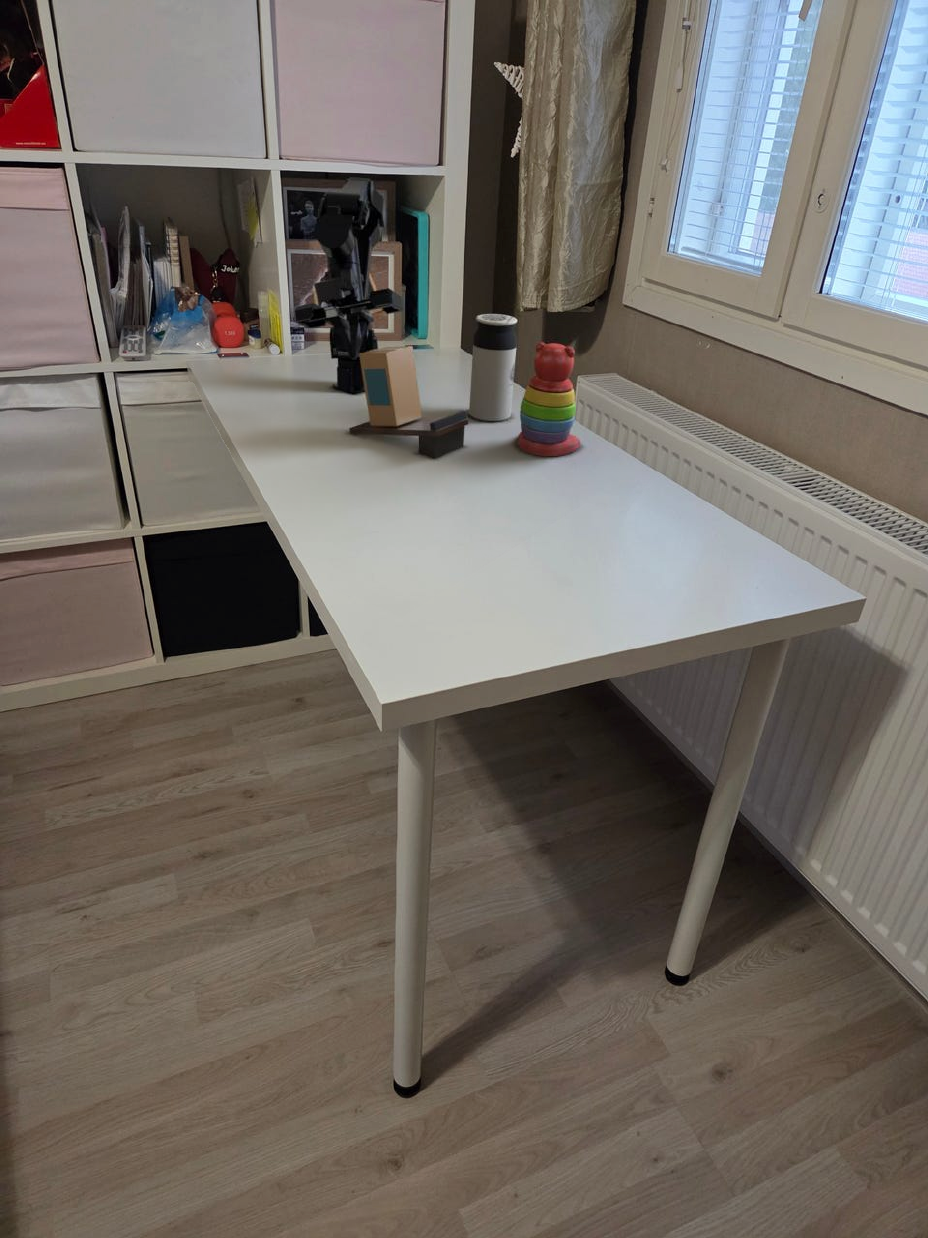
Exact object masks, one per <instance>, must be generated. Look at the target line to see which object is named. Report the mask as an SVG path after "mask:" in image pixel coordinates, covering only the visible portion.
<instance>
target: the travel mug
mask: <svg viewBox="0 0 928 1238" xmlns="http://www.w3.org/2000/svg"><path fill="white" fill-rule="evenodd" d="M475 320H476V322H477V329H476V330H475V332H474V334H473V338H472V339H473V340H472V341H473V342H472V343H473V344H472V355H471V372H470V373H471V374H470V375H471V376H470V390H469V404H468V405H469V407H468V414H469V415H470V416H471V417H472V418H474V419H476V420H480V421H483V422H484V421H485V422H501V421H505V420H507V419H509V418H510V417H511V415H512V401H513V391H514V380H515V369H516V368H515V367H516V355H517V344H518V337H517V334H516V331H515V327H516V325H517V323H518V319H517V318H516V317H514V316H511V315H507V314H501V313H500V314H499V313H484V314H478V315H477V316H476V318H475Z"/></svg>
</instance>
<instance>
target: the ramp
mask: <svg viewBox="0 0 928 1238" xmlns="http://www.w3.org/2000/svg"><path fill="white" fill-rule="evenodd" d="M468 425H469V418H468V415H467V411H465V410H464V411H463V410H462V411H459V412H456V413H453V414H451V415H448V416H446V417H421V418H418V419H415V420H413V421H410V422H407V423H404V424H402V425H399V426H372V425H370V420H369V421H366V422H363V423H360V424H356V425H354V426H351V427H349V428H348V430H349V434H353V435H378V436H403V437H405V436H407V437H418V440H417V443H418V444H417V454H418V455H420V456H424V457H427V458H430V459H433V460H435V459H438V458H440V457H443V456H445V455H447V454H450V453H452V452H454V451H456V450H459V449H461V448H463V447H464V443H465V427H466V426H468Z"/></svg>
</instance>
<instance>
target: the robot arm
mask: <svg viewBox="0 0 928 1238" xmlns="http://www.w3.org/2000/svg"><path fill="white" fill-rule="evenodd" d="M315 219H316V221H315V222H316V223H315V225H314V235H315V238H316V240H317V242H318V244H319V246H320V248H321V249H322V251H323V253H324V254H325V261H326V269H327V271H324V280H321V281H318V282H315V283H313V286H314V290H315V293H316V298H317V301H318V303H319V304H321V303H324V304H327V305H329V306H324V307H322V306H320V305H318V304H316V303H315V302H311V303H308V304H302V305H297V306H296V307H295V309H294V311H293V319H294V323H296V324H297V325H299V326H302V327H304V328H307V329H316V328H317V329H318V328H321V327H325V326H326V325H327V324H328V325H330V329H329V348H330V349H329V350H330V358H331V359H333V360H334V359H337V367H336V383H334V384H332V386H331V387H332V388H333V389H337V390H339V391H342V392H343V391H344V392H347V393H350V394H356V395H357V394H360V393H365V388H364V381H363V375H362V369H361V362H360V356H359V354H361V353H365V352H369V351H371V350H375V349H379V344H378V337H377V336H376V334H375V330H374V329H373V327H372V323H373V322H374V321H375V319H374V317H373V316H372V311H374V310H379V309H382V310H381V311H383V312H385V313H386V314H387V315H391V314H396V313H400V312H401V313H402V312H403V311H404V302H403V298H402V296H401V295H400V294H398V293H397V292H395V291H394V290H393V289H391V288H389V287H388V288H382V289H378V290H373V291H370V293H369V286H370V285H369V283H370V274H371V266H372V265H371V264H372V254H373V249H374V248H375V247H376V246H377V244H378V243H379V242H380V241H381V240H382V233H383V228H386V225H387V224H386V223H387V212H386V204H385V198H384V196H383V195H381V193H380V192H378V191H377V189H375V188H374V181H373V180H371V179H370V178H363V177H349V178H346V179H345V184H344V185H343V186H342V187H341V188H340V190H339V191H333V190H332V191H331V190H327V191H326V192H325V193H324V196H323V197H322V198H321V199H320V203H319V207H318V211H317V215H316V218H315ZM368 295H369V298H368Z"/></svg>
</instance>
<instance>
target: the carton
mask: <svg viewBox="0 0 928 1238" xmlns="http://www.w3.org/2000/svg"><path fill="white" fill-rule="evenodd" d="M359 356H360V362H361V369H362V375H363V381H364V388H365V391H364V394H365V399H366V405H367V406H366V407H367V413H368V420H369V421H370V425H372V426H399V425H402V424H404V423H407V422H410V421H413V420H415V419H418V418H423V414H422V405H421V400H420V392H419V385H418V383H419V382H418V377H417V376H418V375H417V370H416V363H415V355H414V347H413V346H412V345H409V346H408V345H407V346H385V347H381V348H378V349H375V350H371V351H369V352H365V353H361V354H359Z"/></svg>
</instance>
